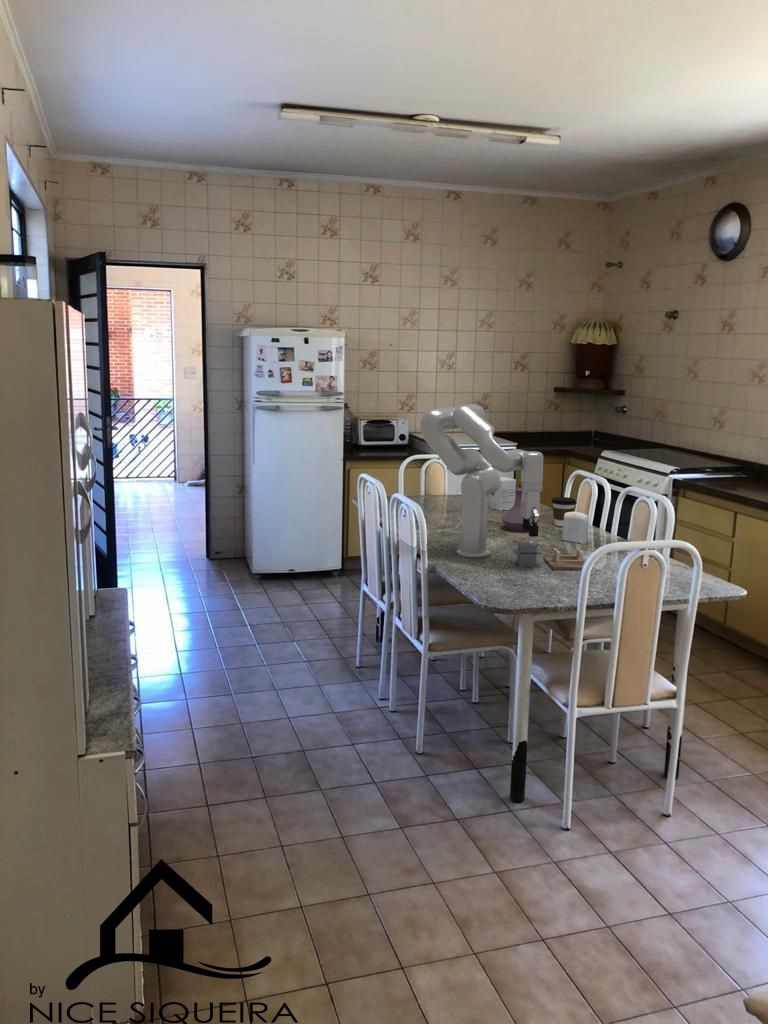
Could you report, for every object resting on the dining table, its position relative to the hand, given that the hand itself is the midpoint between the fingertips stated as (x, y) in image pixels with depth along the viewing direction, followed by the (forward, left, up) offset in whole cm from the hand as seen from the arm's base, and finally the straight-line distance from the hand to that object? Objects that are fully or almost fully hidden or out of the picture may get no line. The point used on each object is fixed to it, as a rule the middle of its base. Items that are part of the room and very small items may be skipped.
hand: (530, 533), depth 293 cm
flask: (-58, +9, -12) cm, 59 cm away
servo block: (-1, -1, -12) cm, 12 cm away
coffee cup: (-65, +30, -12) cm, 72 cm away
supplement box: (-100, +10, -12) cm, 101 cm away
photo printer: (-36, +27, -12) cm, 47 cm away
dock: (-1, +14, -12) cm, 19 cm away
